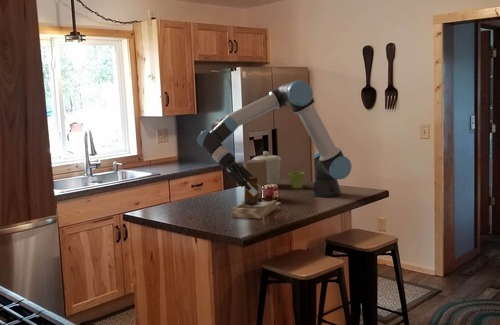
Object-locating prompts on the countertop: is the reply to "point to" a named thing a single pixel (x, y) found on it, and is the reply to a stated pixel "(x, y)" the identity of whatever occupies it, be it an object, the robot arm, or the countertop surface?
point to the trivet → (266, 203)
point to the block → (258, 172)
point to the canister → (271, 166)
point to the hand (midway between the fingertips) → (258, 192)
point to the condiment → (248, 197)
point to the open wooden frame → (253, 210)
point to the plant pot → (296, 179)
